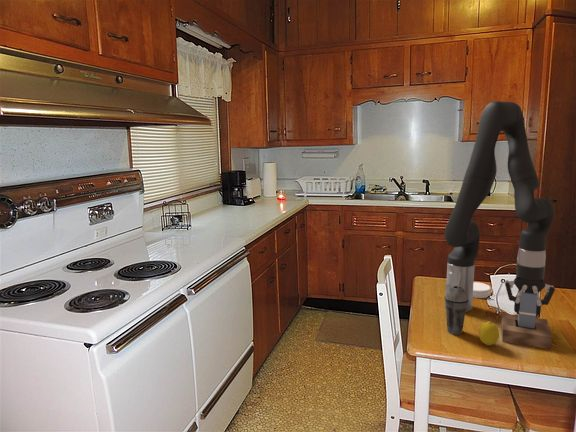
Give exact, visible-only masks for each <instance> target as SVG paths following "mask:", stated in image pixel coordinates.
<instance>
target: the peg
mask: <svg viewBox="0 0 576 432" xmlns="http://www.w3.org/2000/svg"><path fill="white" fill-rule="evenodd" d="M536 307H537V294H534V293H527V292H525V293H521V297H520V310H519V314H517V315H518V326H521V327H528V328H535V318H537V317H536Z"/></svg>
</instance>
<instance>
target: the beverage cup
mask: <svg viewBox="0 0 576 432" xmlns="http://www.w3.org/2000/svg"><path fill="white" fill-rule="evenodd" d="M460 279H461V273H460V274H459V281H458V286H453V287H451V288H449V289H448V290H447V291H446V290H445V293H446V294H444V305H445V304H446V308H445V313H446V314H445V317H446V329H447V333H448V334H451V335H453V336H454V335H456V336H459V335H461V334H463V329H464V323H465V317H466V307H467V304H468V295H467V293H466V291H465V290H464V289H463V288H461V287H459V286H460Z"/></svg>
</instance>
